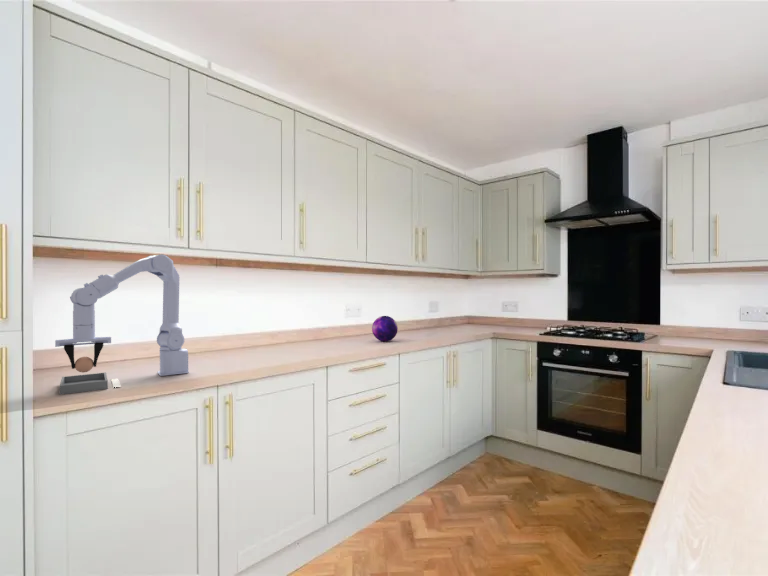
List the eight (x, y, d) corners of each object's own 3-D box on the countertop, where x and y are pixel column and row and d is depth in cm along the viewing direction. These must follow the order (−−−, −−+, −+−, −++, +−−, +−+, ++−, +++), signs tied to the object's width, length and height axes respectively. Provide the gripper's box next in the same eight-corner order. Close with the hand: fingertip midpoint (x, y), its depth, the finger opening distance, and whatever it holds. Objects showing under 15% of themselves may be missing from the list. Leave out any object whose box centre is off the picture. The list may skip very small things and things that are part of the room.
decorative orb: (371, 340, 251) (371, 315, 252) (396, 339, 252) (396, 314, 252) (372, 343, 237) (372, 316, 237) (398, 342, 237) (398, 316, 237)
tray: (106, 379, 144) (105, 372, 144) (107, 388, 131) (107, 380, 131) (62, 384, 137) (62, 376, 137) (59, 394, 124) (59, 385, 124)
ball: (94, 370, 137) (93, 354, 137) (93, 372, 133) (93, 357, 133) (75, 371, 135) (75, 356, 135) (73, 374, 130) (73, 358, 130)
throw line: (118, 378, 146) (118, 378, 146) (120, 387, 133) (120, 387, 133) (111, 379, 145) (111, 379, 145) (113, 388, 132) (113, 388, 132)
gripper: (110, 323, 142) (110, 363, 141) (56, 325, 133) (56, 367, 133) (111, 324, 136) (111, 366, 136) (54, 326, 127) (54, 371, 127)
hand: (84, 367), depth 134 cm, fingers closed on ball, 5 cm apart
